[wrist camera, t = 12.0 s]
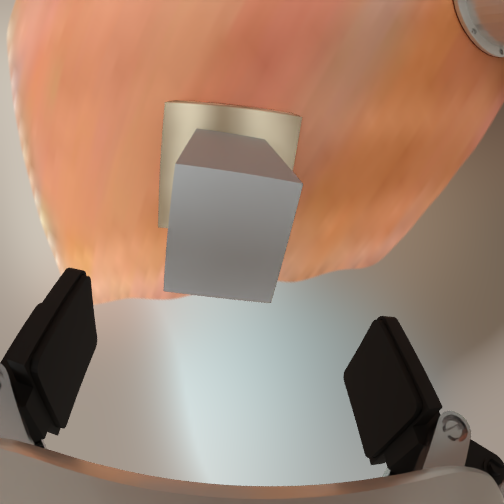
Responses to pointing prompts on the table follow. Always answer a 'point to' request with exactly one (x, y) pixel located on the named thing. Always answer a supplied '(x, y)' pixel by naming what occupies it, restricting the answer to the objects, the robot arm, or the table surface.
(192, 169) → the grey block
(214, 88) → the table surface
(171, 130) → the beige metal block
